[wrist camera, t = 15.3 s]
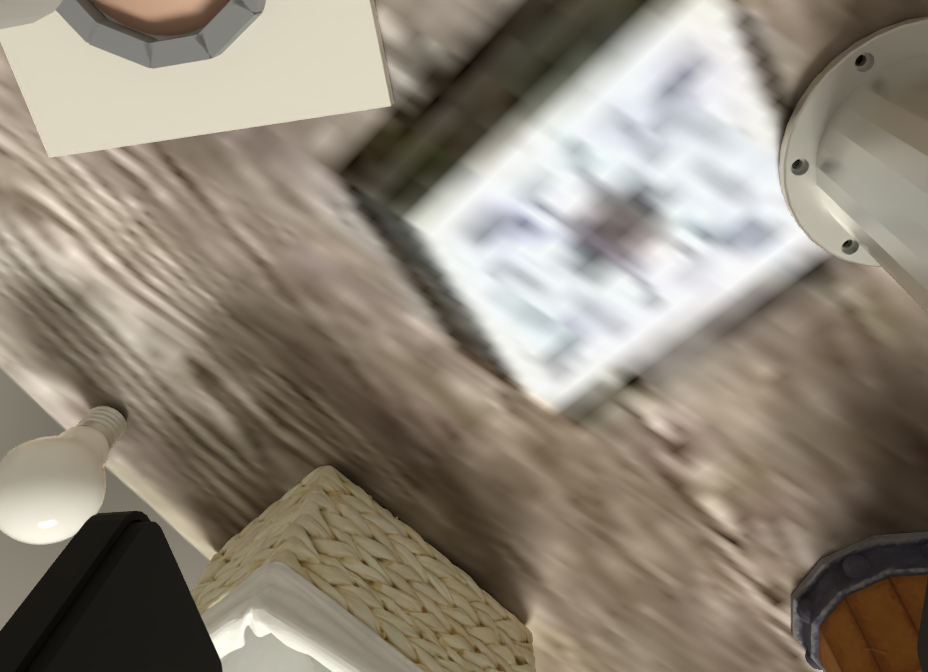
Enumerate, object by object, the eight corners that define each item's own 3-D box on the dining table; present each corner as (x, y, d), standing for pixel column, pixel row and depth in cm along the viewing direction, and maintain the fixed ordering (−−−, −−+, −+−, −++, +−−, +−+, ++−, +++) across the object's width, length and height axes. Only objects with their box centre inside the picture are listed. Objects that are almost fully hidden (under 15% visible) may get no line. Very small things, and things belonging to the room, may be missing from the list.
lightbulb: (173, 416, 52) (89, 528, 42) (129, 467, 55) (40, 583, 45) (93, 360, 50) (-13, 463, 41) (52, 415, 53) (-58, 524, 43)
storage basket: (190, 544, 58) (89, 722, 45) (325, 431, 52) (251, 600, 39) (415, 707, 65) (382, 901, 52) (558, 624, 58) (562, 823, 45)
